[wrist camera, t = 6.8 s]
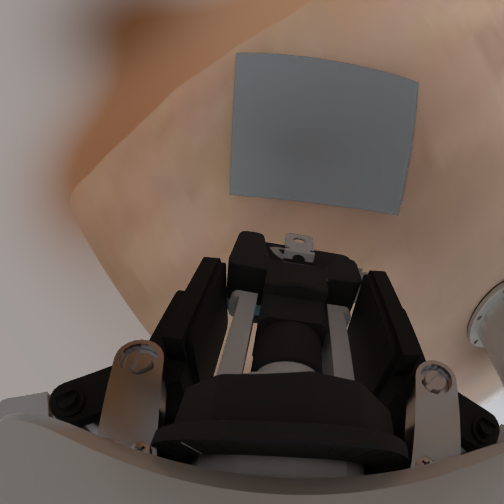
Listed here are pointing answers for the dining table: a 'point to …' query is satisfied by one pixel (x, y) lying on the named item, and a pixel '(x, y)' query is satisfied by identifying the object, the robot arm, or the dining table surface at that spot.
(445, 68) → the dining table surface
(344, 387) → the black mechanical part
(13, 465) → the robot arm
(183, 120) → the dining table surface
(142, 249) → the dining table surface
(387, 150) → the mat
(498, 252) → the dining table surface
